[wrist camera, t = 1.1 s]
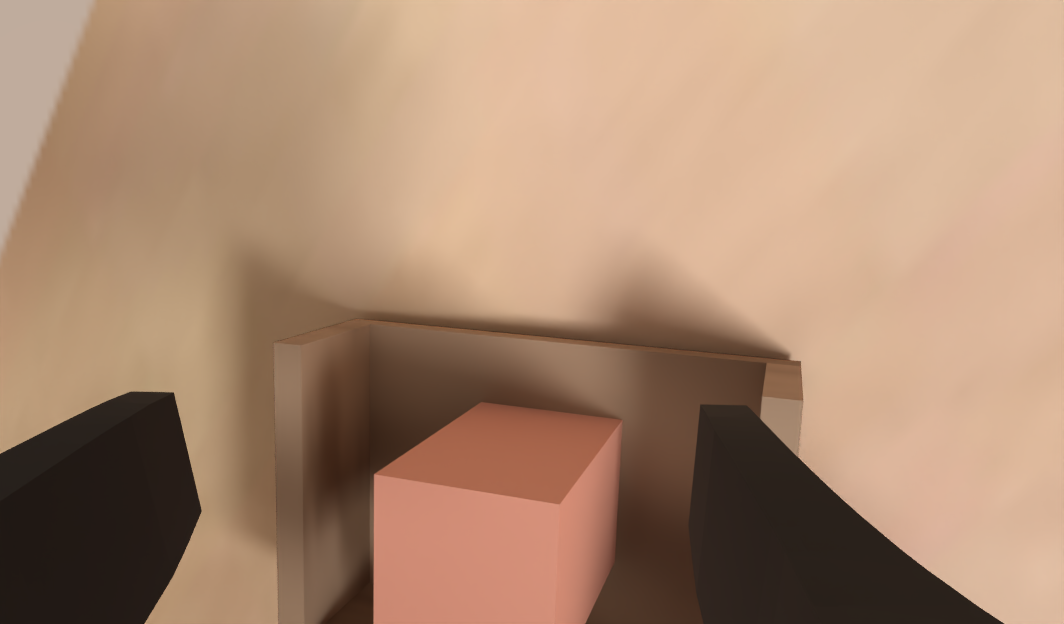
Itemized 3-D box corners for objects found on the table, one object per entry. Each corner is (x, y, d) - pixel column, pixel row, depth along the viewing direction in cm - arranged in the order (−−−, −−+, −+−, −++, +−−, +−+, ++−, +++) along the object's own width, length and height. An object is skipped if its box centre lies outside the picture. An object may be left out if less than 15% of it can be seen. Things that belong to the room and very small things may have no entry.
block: (614, 561, 21) (551, 693, 16) (478, 536, 22) (373, 651, 17) (622, 420, 21) (559, 504, 15) (481, 401, 22) (373, 474, 16)
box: (771, 681, 21) (767, 787, 17) (356, 592, 25) (279, 663, 21) (800, 361, 20) (803, 400, 16) (356, 318, 23) (273, 342, 20)
